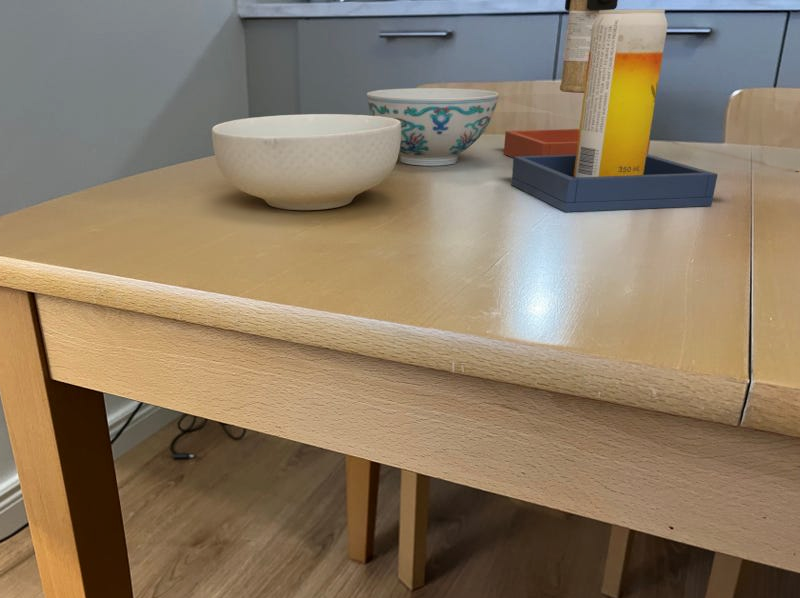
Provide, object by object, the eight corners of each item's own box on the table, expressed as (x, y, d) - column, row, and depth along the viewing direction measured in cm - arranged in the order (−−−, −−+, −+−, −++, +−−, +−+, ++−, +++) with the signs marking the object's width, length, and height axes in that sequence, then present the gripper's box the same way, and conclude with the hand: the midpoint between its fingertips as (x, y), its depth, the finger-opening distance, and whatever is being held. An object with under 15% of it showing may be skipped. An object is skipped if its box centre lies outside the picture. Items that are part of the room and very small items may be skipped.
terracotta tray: (598, 150, 96) (601, 128, 95) (646, 165, 85) (650, 140, 84) (503, 154, 94) (505, 130, 93) (540, 169, 84) (543, 143, 83)
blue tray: (637, 180, 77) (641, 152, 76) (711, 206, 66) (718, 173, 65) (510, 184, 76) (513, 156, 75) (564, 212, 64) (569, 179, 63)
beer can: (654, 187, 70) (684, 9, 64) (613, 195, 67) (641, 9, 61) (599, 177, 74) (622, 11, 68) (558, 184, 71) (579, 10, 65)
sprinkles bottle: (577, 89, 90) (592, -38, 84) (608, 92, 86) (627, -41, 81) (550, 91, 87) (564, -39, 82) (581, 94, 84) (598, -42, 78)
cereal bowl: (292, 178, 80) (290, 109, 77) (431, 195, 71) (435, 117, 68) (177, 207, 67) (170, 125, 65) (329, 232, 59) (329, 139, 56)
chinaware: (414, 177, 80) (417, 100, 77) (342, 158, 92) (342, 91, 89) (520, 164, 87) (527, 94, 84) (440, 148, 99) (443, 86, 96)
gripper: (698, -212, 69) (663, 8, 76) (608, -168, 84) (586, 11, 91) (621, -215, 68) (593, 8, 75) (544, -170, 83) (527, 12, 90)
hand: (589, 8), depth 83 cm, fingers closed on sprinkles bottle, 4 cm apart
